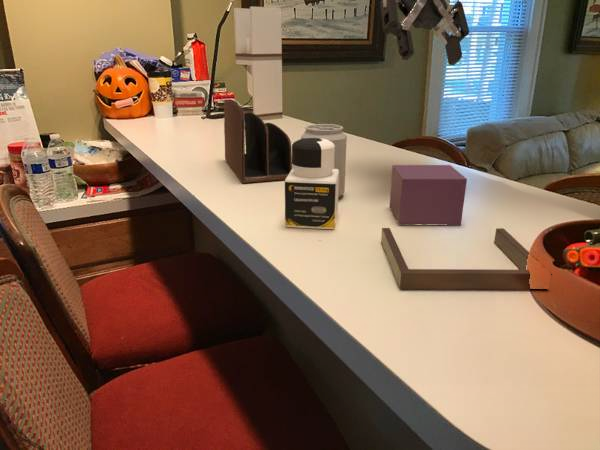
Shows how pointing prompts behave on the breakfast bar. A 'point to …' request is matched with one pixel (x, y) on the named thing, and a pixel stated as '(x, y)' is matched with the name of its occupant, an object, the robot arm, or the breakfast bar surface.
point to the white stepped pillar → (261, 57)
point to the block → (427, 194)
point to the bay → (461, 277)
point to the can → (338, 139)
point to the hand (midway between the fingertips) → (432, 60)
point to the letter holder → (255, 146)
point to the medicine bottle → (312, 185)
